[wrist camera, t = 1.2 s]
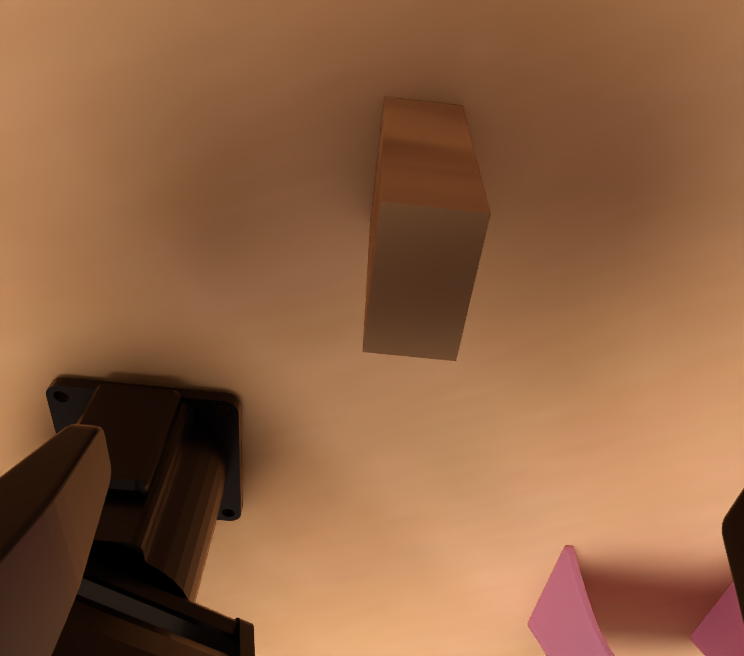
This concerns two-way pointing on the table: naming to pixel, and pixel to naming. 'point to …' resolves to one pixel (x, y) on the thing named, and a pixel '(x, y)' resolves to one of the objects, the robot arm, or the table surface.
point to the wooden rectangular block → (423, 231)
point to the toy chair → (583, 636)
